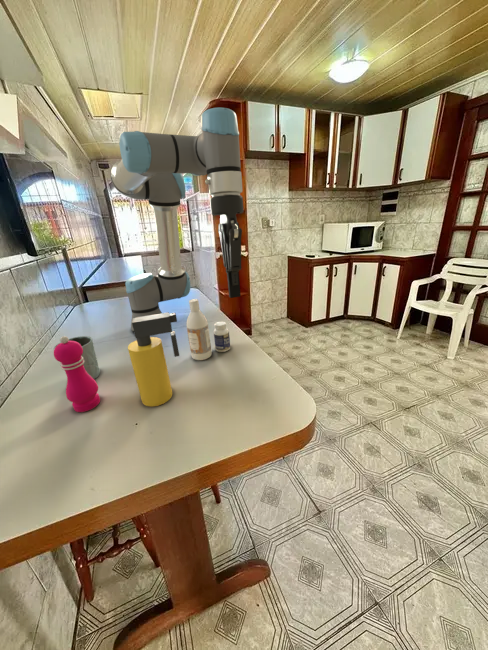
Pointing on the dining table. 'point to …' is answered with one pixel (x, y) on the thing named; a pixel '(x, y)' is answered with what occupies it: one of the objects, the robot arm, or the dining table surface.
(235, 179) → the robot arm
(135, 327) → the spray bottle
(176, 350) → the trigger
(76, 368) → the pepper mill
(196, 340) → the bath foam
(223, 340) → the pill bottle
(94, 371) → the gray cup
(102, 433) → the dining table surface
